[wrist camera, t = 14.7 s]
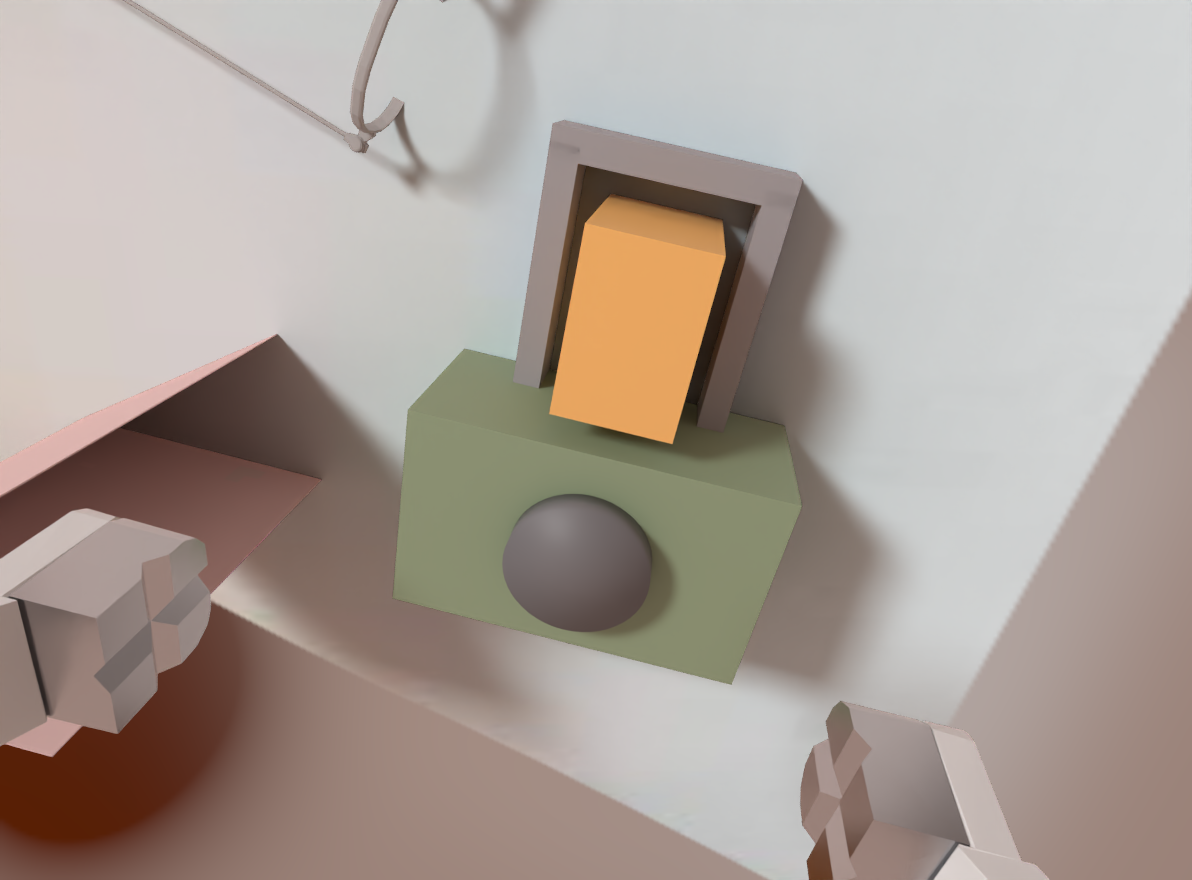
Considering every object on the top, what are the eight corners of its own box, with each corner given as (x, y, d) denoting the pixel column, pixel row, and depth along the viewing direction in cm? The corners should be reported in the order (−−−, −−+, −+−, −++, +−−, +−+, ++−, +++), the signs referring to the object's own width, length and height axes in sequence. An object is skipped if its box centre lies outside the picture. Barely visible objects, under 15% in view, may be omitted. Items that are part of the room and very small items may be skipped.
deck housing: (492, 103, 24) (418, 111, 18) (870, 189, 24) (925, 227, 18) (445, 513, 32) (381, 616, 26) (727, 583, 32) (732, 705, 26)
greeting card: (84, 435, 33) (-332, 671, 20) (61, 280, 30) (-460, 440, 17) (321, 495, 33) (57, 777, 20) (325, 345, 29) (8, 564, 16)
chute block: (611, 193, 25) (584, 223, 20) (722, 219, 25) (725, 256, 20) (579, 350, 28) (548, 414, 23) (679, 375, 28) (672, 444, 23)
